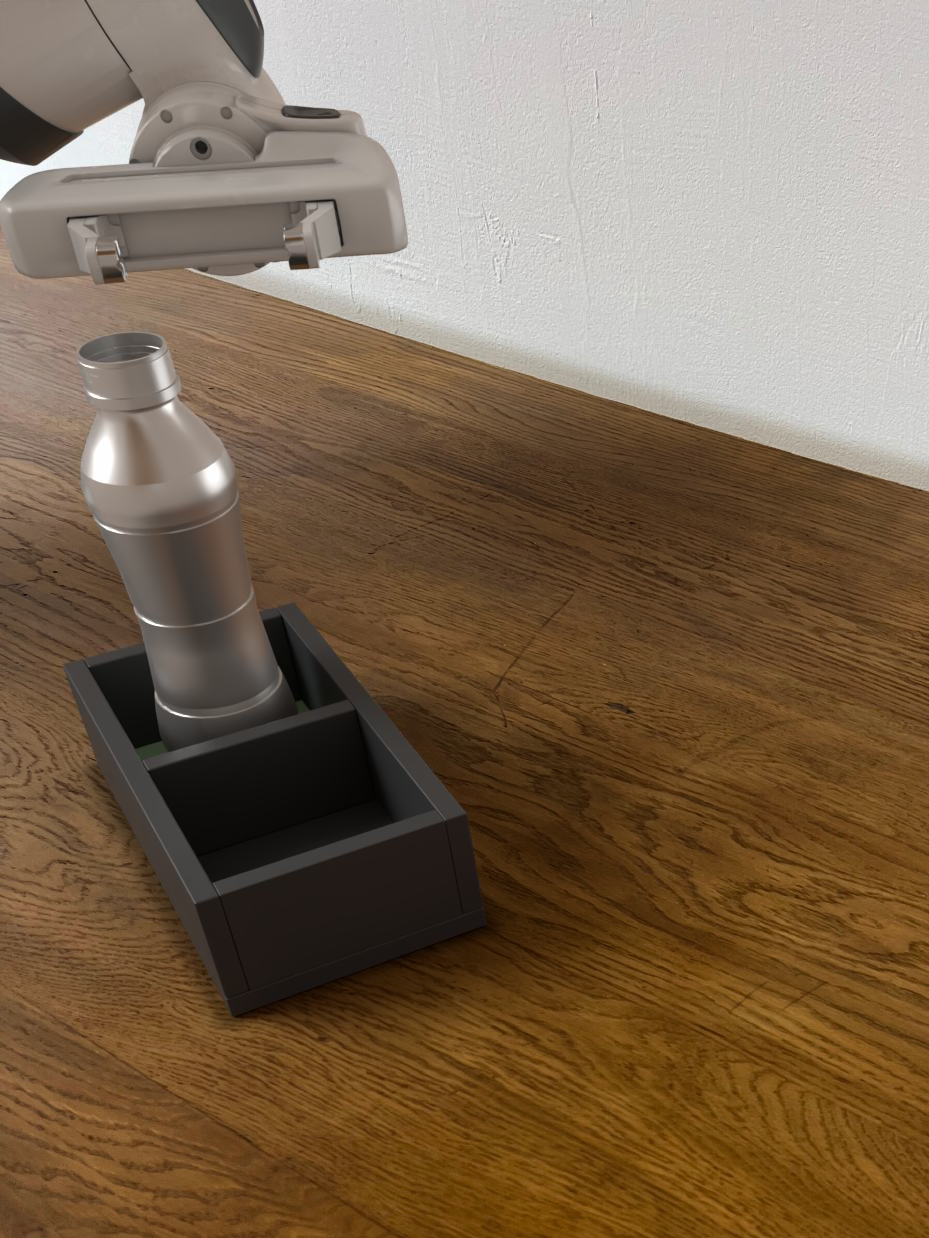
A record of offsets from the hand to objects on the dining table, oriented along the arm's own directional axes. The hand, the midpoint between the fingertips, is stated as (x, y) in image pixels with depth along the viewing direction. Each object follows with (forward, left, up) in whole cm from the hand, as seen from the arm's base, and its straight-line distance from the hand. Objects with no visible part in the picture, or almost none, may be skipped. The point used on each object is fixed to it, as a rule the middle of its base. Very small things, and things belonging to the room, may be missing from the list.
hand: (204, 259), depth 78 cm
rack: (-8, -22, -19) cm, 30 cm away
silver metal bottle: (-8, -16, -18) cm, 26 cm away
